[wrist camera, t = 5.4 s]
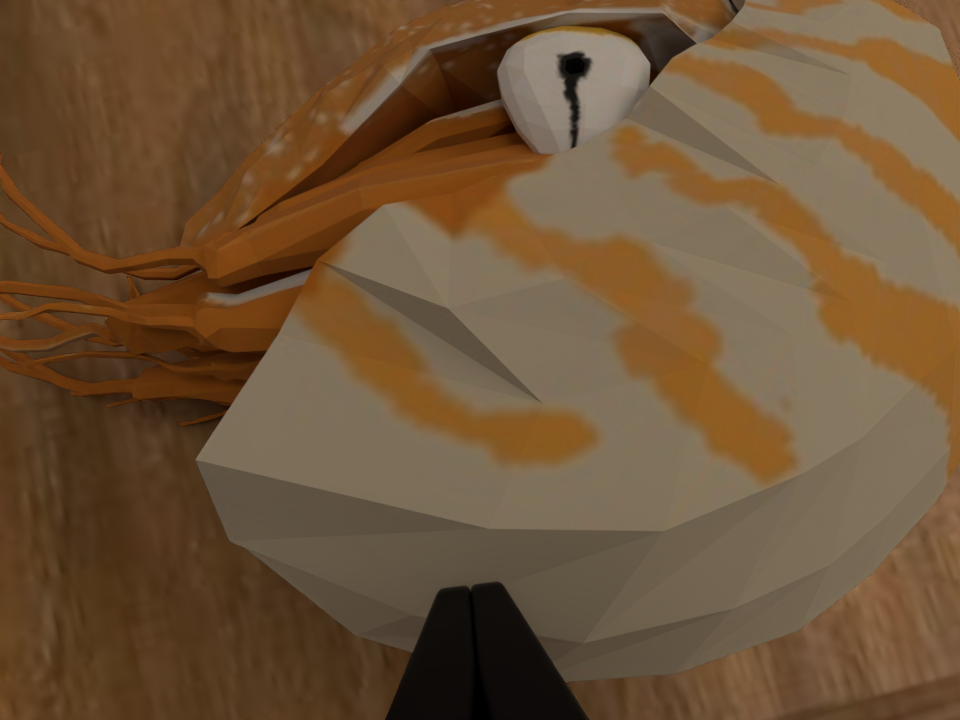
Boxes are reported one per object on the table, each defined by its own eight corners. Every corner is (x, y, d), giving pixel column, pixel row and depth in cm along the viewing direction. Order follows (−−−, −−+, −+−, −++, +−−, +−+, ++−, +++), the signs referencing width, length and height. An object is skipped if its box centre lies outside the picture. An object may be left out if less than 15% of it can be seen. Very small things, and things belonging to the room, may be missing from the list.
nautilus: (-43, 606, 16) (113, 70, 21) (930, 698, 14) (867, 91, 19) (-543, 626, 9) (-123, -226, 13) (1383, 824, 7) (1097, -236, 11)
